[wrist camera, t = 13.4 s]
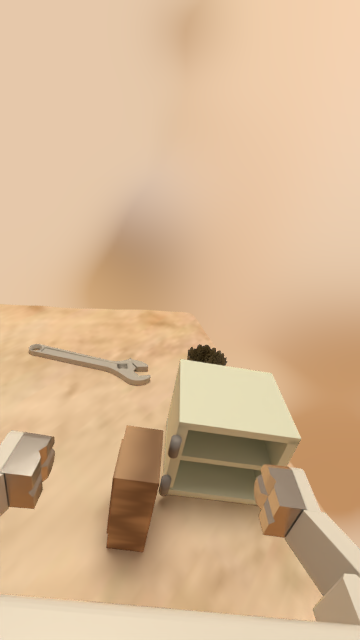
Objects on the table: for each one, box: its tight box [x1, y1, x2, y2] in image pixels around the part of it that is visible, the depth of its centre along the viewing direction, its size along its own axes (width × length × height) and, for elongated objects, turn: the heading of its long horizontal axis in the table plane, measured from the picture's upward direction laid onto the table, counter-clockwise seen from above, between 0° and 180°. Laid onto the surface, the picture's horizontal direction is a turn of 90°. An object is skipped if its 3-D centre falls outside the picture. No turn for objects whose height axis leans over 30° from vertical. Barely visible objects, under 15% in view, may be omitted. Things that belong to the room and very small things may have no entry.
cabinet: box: [159, 359, 301, 505], centre depth 39 cm, size 15×13×13 cm
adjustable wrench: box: [29, 344, 150, 386], centre depth 58 cm, size 25×6×2 cm, turn 78°
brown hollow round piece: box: [187, 344, 227, 366], centre depth 55 cm, size 7×7×8 cm
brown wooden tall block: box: [107, 426, 163, 552], centre depth 31 cm, size 4×6×12 cm
